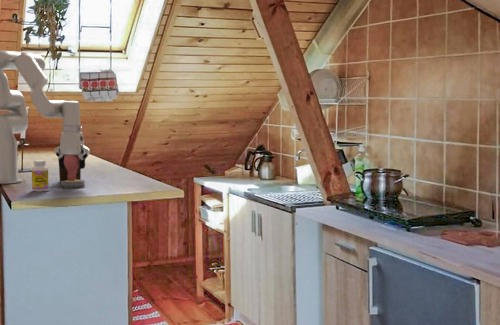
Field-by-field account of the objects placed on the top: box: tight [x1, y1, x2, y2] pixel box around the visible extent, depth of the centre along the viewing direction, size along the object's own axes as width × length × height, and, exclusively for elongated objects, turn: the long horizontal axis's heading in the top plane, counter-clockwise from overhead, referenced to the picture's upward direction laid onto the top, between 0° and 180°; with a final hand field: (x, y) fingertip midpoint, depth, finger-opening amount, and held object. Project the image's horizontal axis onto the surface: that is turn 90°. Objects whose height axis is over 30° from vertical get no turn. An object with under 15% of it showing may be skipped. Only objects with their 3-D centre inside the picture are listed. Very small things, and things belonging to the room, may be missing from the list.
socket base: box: [60, 179, 86, 189], centre depth 285 cm, size 10×10×3 cm
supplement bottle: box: [31, 159, 49, 193], centre depth 273 cm, size 7×7×13 cm
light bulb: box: [64, 155, 80, 180], centre depth 285 cm, size 7×7×12 cm
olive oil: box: [57, 142, 82, 183], centre depth 301 cm, size 11×11×25 cm
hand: (72, 168), depth 285 cm, fingers open, 9 cm apart
